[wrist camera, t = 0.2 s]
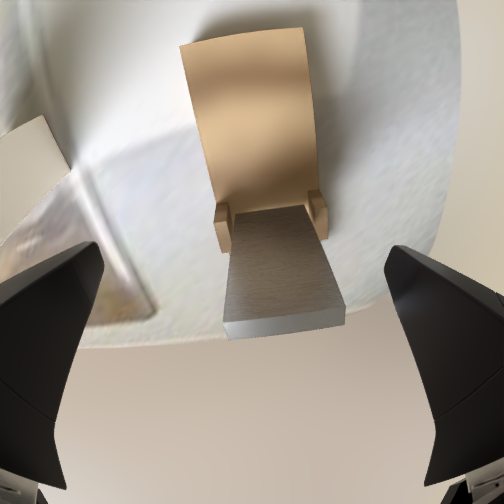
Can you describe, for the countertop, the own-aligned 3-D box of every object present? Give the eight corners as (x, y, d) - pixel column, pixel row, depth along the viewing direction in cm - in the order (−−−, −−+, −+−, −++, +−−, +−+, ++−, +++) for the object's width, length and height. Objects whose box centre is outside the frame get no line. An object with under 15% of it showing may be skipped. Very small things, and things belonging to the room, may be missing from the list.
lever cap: (235, 214, 19) (222, 322, 11) (304, 204, 19) (345, 306, 10) (239, 237, 20) (232, 352, 11) (306, 228, 20) (343, 337, 11)
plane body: (188, 47, 15) (168, 45, 11) (294, 31, 14) (312, 23, 10) (236, 256, 26) (235, 301, 22) (313, 245, 26) (326, 288, 21)
